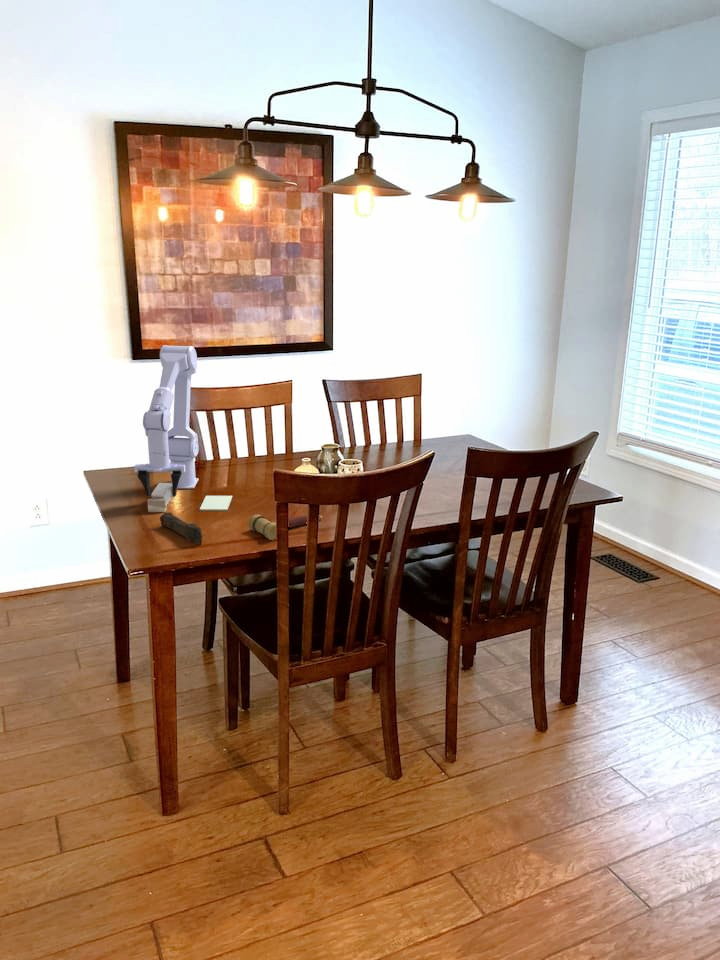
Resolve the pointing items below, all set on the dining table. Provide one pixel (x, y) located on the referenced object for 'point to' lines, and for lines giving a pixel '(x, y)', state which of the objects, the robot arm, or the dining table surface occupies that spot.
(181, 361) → the robot arm
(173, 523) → the hand tool
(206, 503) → the mat
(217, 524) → the dining table surface
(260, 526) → the gavel
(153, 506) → the blocks
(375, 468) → the dining table surface
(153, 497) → the steel bar
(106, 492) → the dining table surface
